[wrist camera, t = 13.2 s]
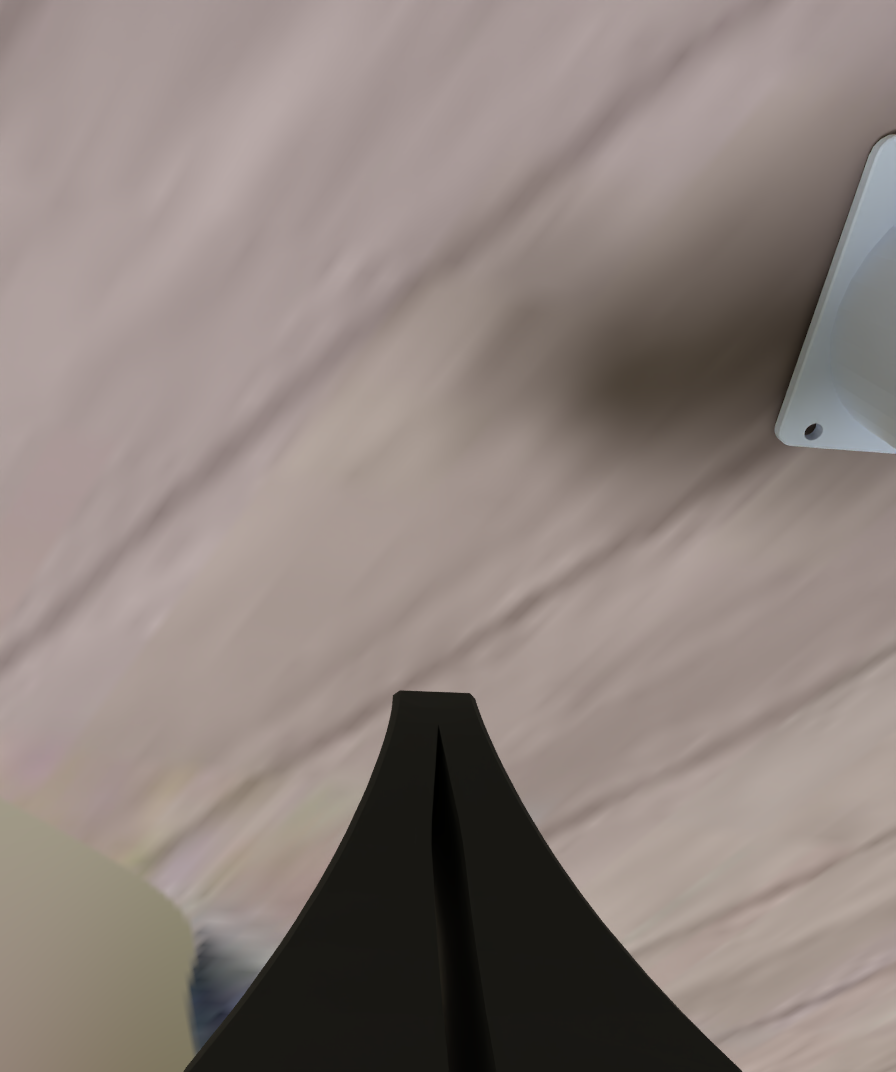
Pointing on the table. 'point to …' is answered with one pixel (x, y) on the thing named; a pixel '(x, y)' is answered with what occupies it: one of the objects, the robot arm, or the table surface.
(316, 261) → the table surface
